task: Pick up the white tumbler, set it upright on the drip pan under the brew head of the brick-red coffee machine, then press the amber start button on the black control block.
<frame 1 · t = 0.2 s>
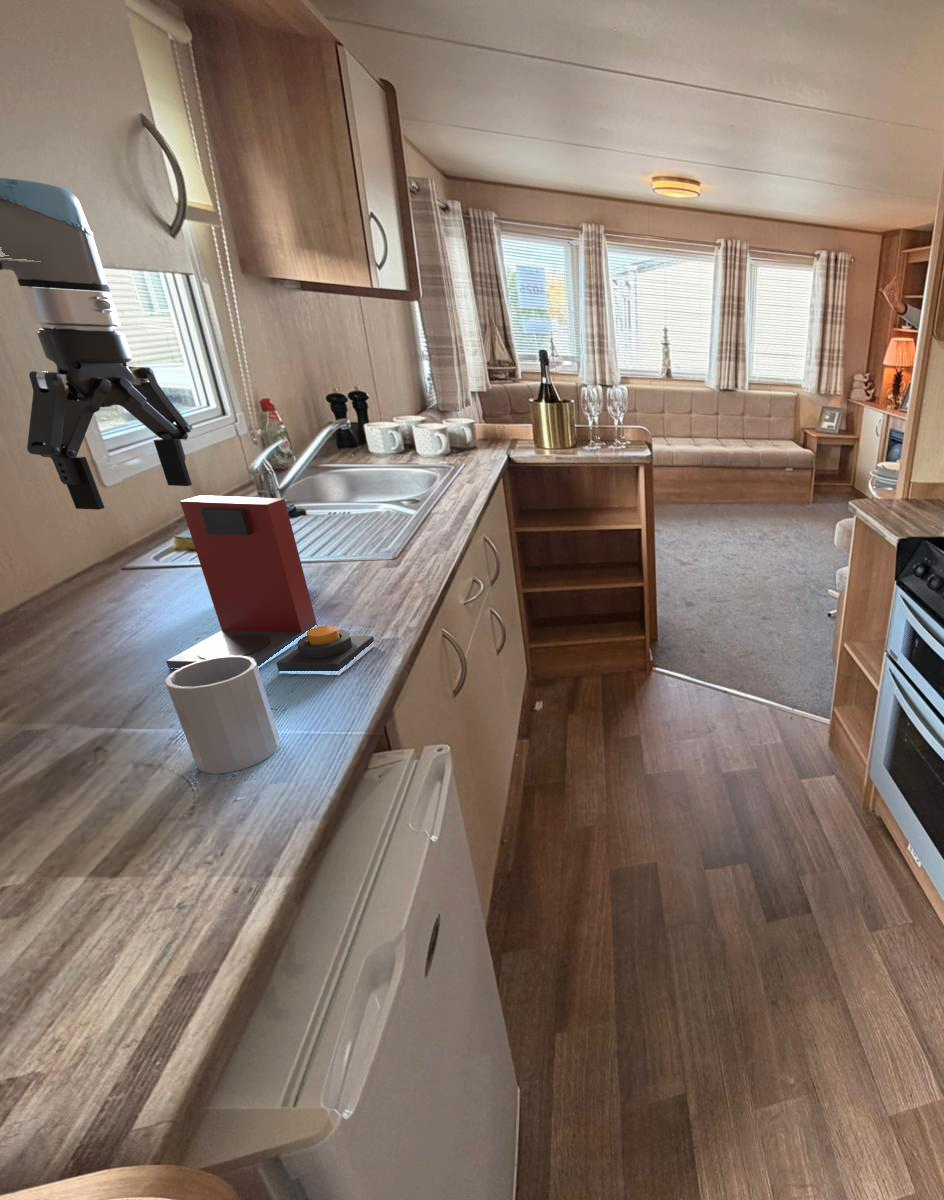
hand: (138, 496, 87), 28 cm above the counter, tool pointing down, fingers open, 13 cm apart
coffee machine: (251, 647, 106), on the counter
start button: (323, 635, 102), point 5 cm above the counter, slide at 0.2 cm
control block: (329, 660, 104), on the counter
white tumbler: (239, 753, 81), on the counter
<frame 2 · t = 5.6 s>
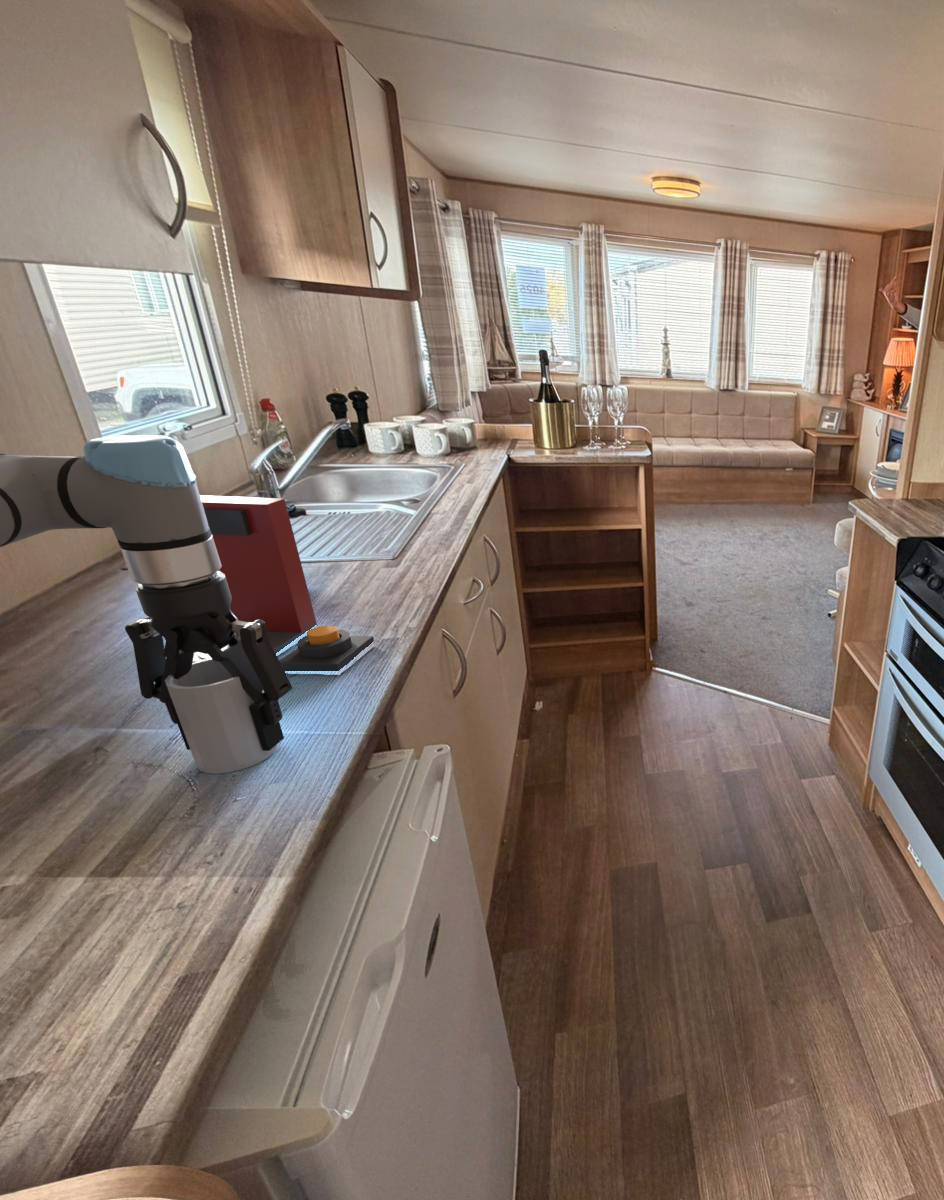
hand: (236, 743, 81), 1 cm above the counter, tool pointing down, fingers closed on white tumbler, 8 cm apart
white tumbler: (239, 753, 81), on the counter, touching gripper
everything else where it was.
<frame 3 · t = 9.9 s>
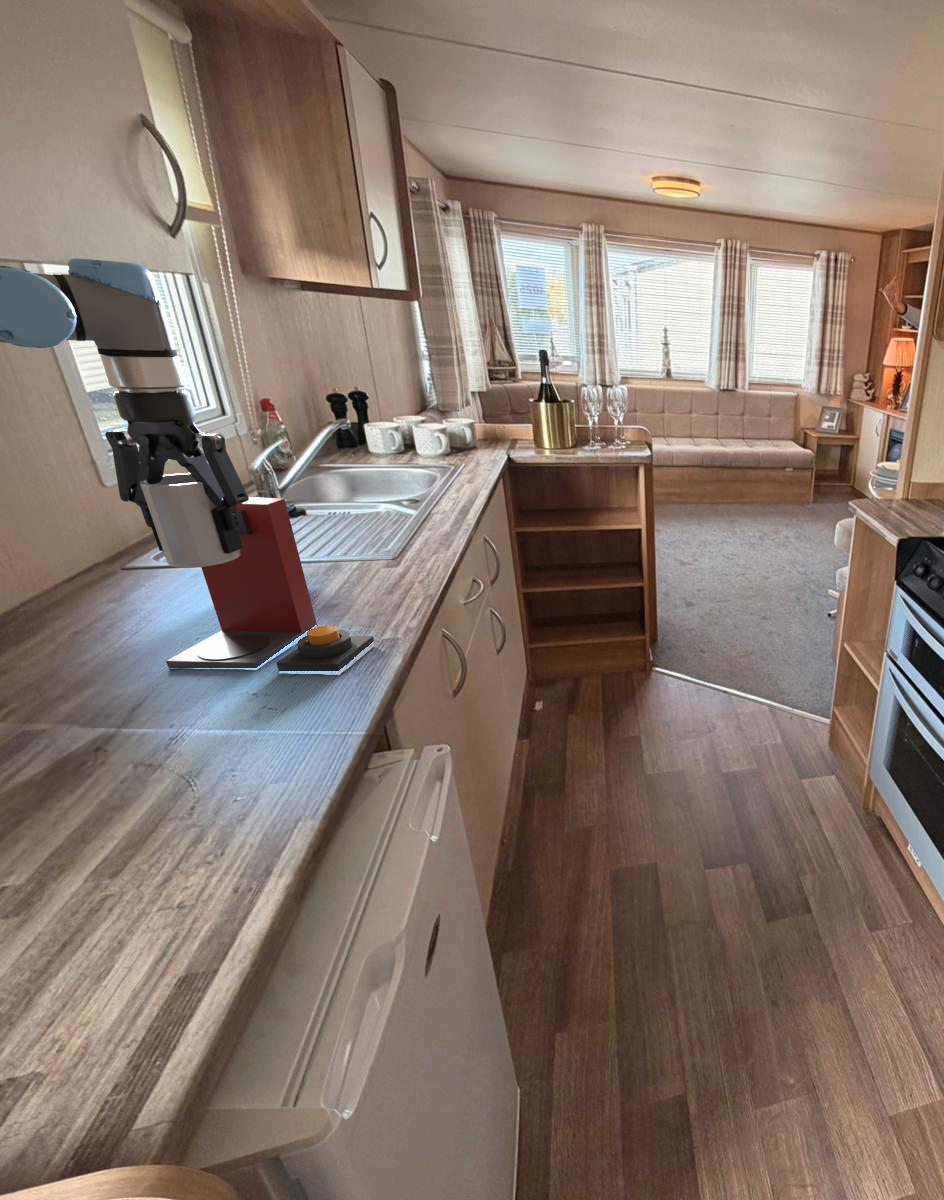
hand: (202, 549, 94), 19 cm above the counter, tool pointing down, fingers closed on white tumbler, 8 cm apart
white tumbler: (205, 558, 95), point 18 cm above the counter, touching gripper
everything else where it was.
when the fingers open (3 cm above the counter, at t = 14.0 s): white tumbler stays where it is, resting on coffee machine.
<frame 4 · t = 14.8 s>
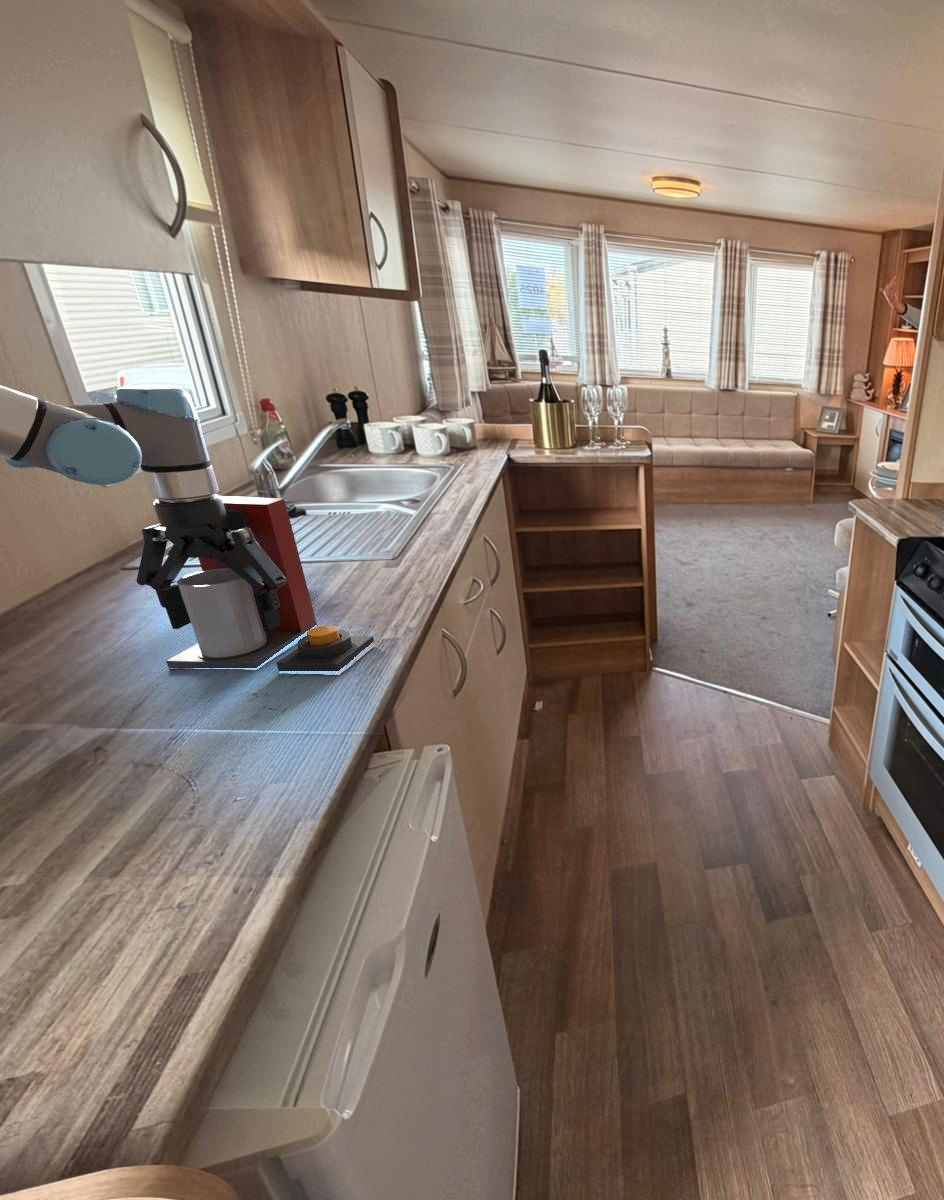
hand: (227, 627, 102), 5 cm above the counter, tool pointing down, fingers open, 13 cm apart
white tumbler: (234, 646, 103), point 2 cm above the counter, touching coffee machine
everything else where it was.
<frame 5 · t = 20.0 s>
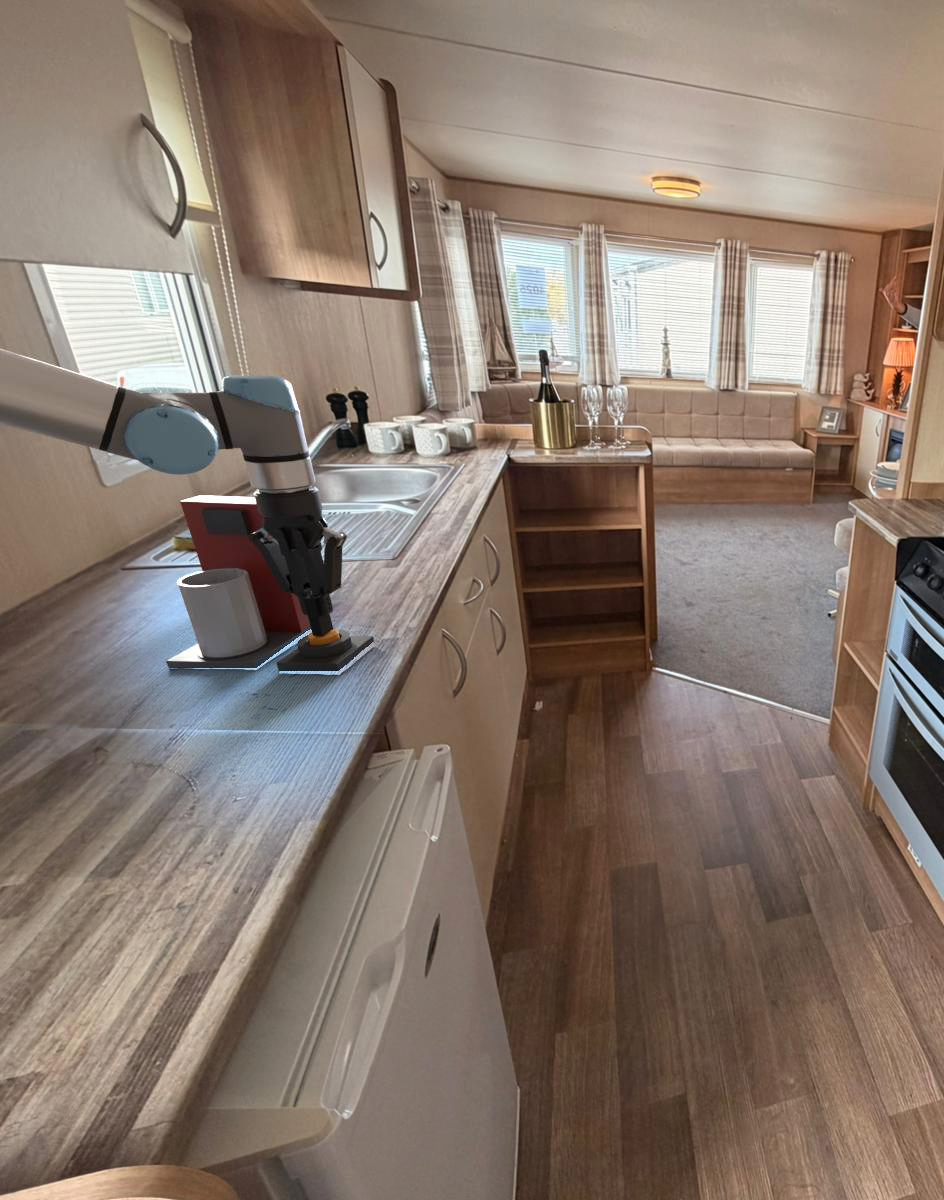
hand: (323, 632, 102), 5 cm above the counter, tool pointing down, fingers closed
start button: (324, 638, 102), point 4 cm above the counter, slide at -0.4 cm, touching gripper
everything else where it was.
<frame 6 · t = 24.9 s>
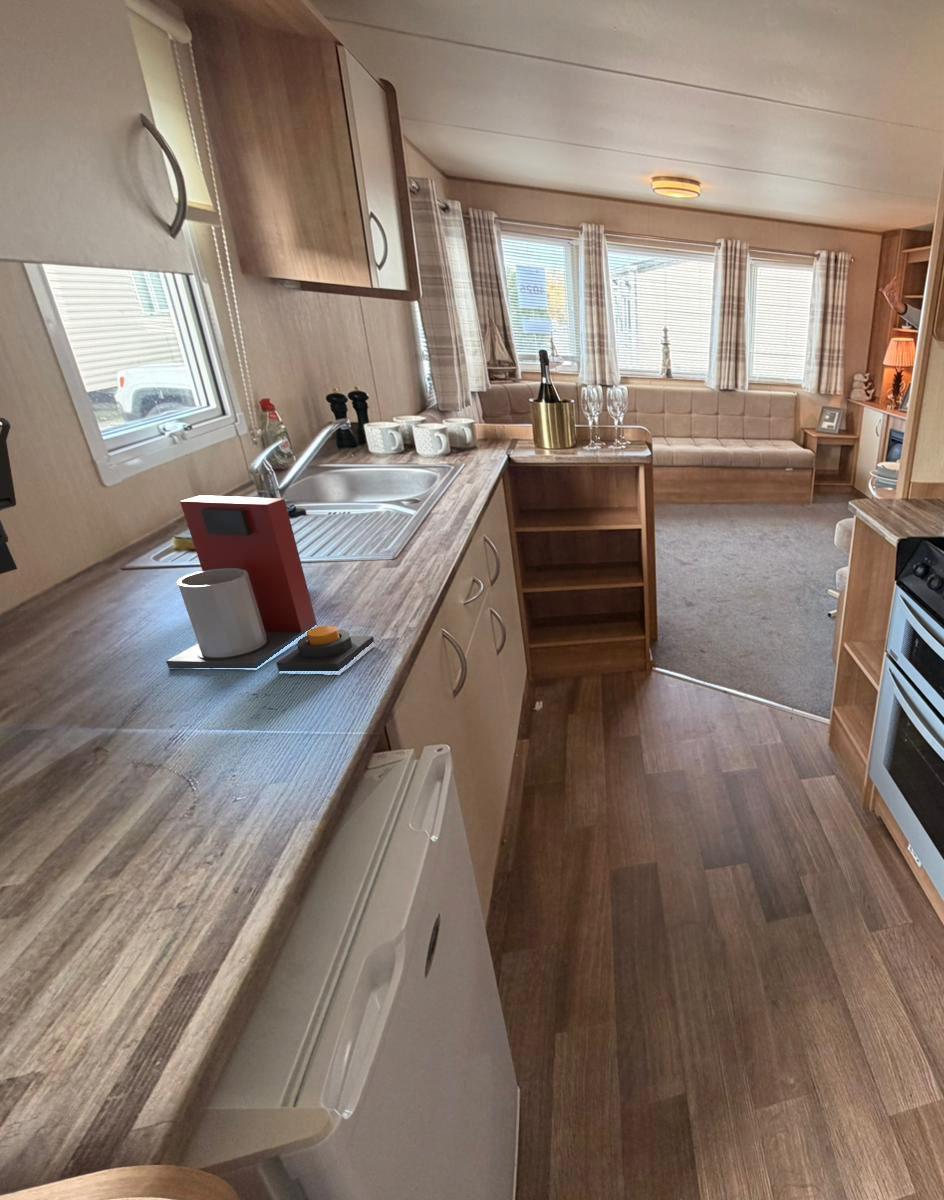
start button: (323, 635, 102), point 5 cm above the counter, slide at 0.1 cm
everything else where it was.
at the end: white tumbler 0.1 cm from the target spot on the coffee machine, point 1.7 cm above the coffee machine's base; white tumbler tilted 0°; start button pushed in 1.1 cm at the most during the clip, back to where it started at the end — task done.
